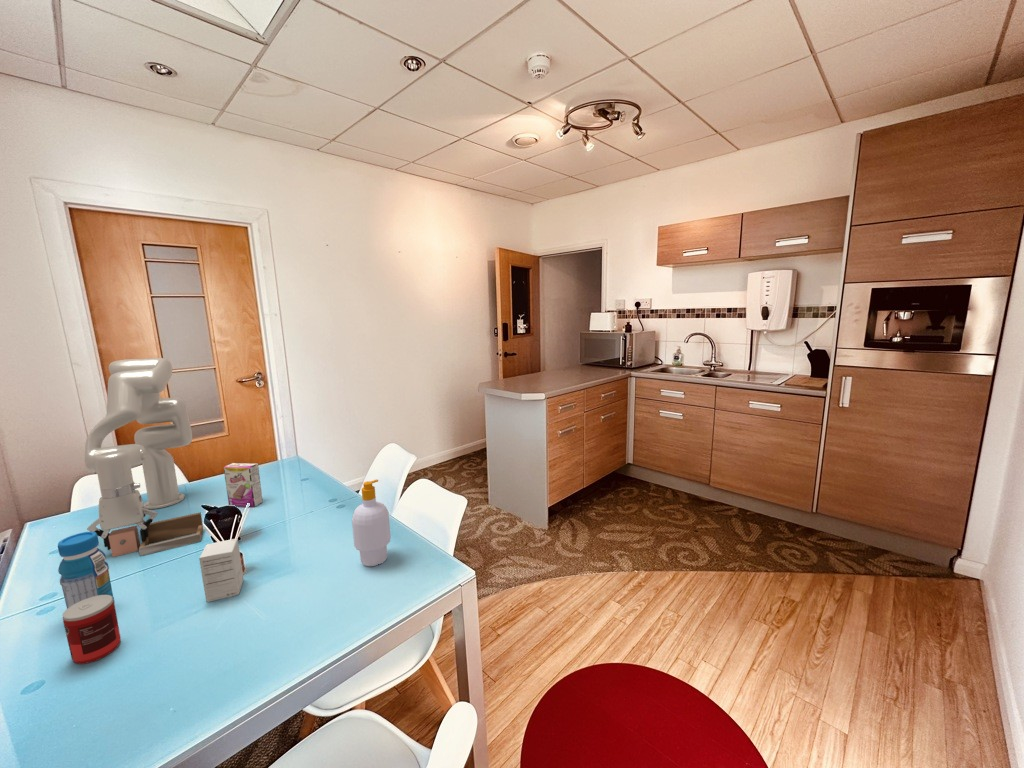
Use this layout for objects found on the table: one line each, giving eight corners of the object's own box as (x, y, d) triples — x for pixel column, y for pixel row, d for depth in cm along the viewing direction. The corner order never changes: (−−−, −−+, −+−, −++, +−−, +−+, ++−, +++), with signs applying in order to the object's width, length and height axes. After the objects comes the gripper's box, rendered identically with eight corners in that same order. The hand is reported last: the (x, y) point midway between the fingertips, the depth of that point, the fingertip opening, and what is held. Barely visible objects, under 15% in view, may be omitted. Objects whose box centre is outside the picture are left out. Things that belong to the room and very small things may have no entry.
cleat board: (146, 543, 136) (143, 524, 135) (203, 529, 144) (200, 512, 143) (139, 556, 128) (136, 536, 127) (200, 541, 136) (197, 523, 135)
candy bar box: (228, 507, 161) (222, 467, 159) (237, 501, 166) (232, 462, 163) (254, 507, 160) (249, 467, 157) (263, 502, 165) (258, 462, 162)
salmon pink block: (115, 551, 131) (111, 530, 130) (140, 545, 135) (136, 525, 133) (111, 558, 127) (107, 537, 126) (137, 552, 131) (133, 531, 129)
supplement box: (212, 586, 112) (206, 543, 110) (244, 579, 115) (238, 537, 113) (205, 603, 106) (197, 557, 104) (239, 595, 109) (232, 550, 107)
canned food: (93, 639, 95) (84, 595, 93) (131, 636, 95) (122, 592, 93) (60, 666, 87) (50, 620, 85) (101, 663, 88) (91, 616, 86)
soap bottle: (398, 558, 123) (393, 482, 119) (366, 574, 116) (359, 493, 112) (381, 546, 130) (375, 473, 126) (349, 560, 123) (342, 483, 119)
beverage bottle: (73, 629, 98) (56, 551, 95) (63, 616, 102) (47, 541, 99) (120, 607, 105) (106, 534, 102) (109, 596, 109) (95, 526, 106)
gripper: (156, 480, 136) (164, 531, 139) (82, 493, 127) (93, 547, 129) (152, 487, 130) (161, 540, 132) (74, 502, 120) (85, 558, 123)
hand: (127, 543), depth 131 cm, fingers open, 7 cm apart
